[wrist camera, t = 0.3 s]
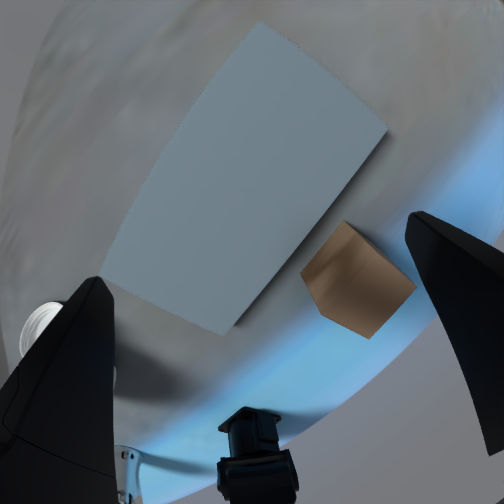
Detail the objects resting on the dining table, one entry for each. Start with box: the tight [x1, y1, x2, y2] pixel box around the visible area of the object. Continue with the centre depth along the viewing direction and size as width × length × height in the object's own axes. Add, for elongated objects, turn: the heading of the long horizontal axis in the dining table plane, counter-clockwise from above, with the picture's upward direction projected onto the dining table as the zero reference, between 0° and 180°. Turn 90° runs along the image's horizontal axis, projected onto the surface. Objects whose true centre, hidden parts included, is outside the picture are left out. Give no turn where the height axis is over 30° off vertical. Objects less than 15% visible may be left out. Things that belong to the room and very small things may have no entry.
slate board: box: [98, 21, 389, 336], centre depth 21 cm, size 22×12×2 cm, turn 144°
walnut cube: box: [300, 220, 417, 339], centre depth 24 cm, size 6×6×6 cm
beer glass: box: [114, 446, 143, 504], centre depth 33 cm, size 7×7×15 cm
